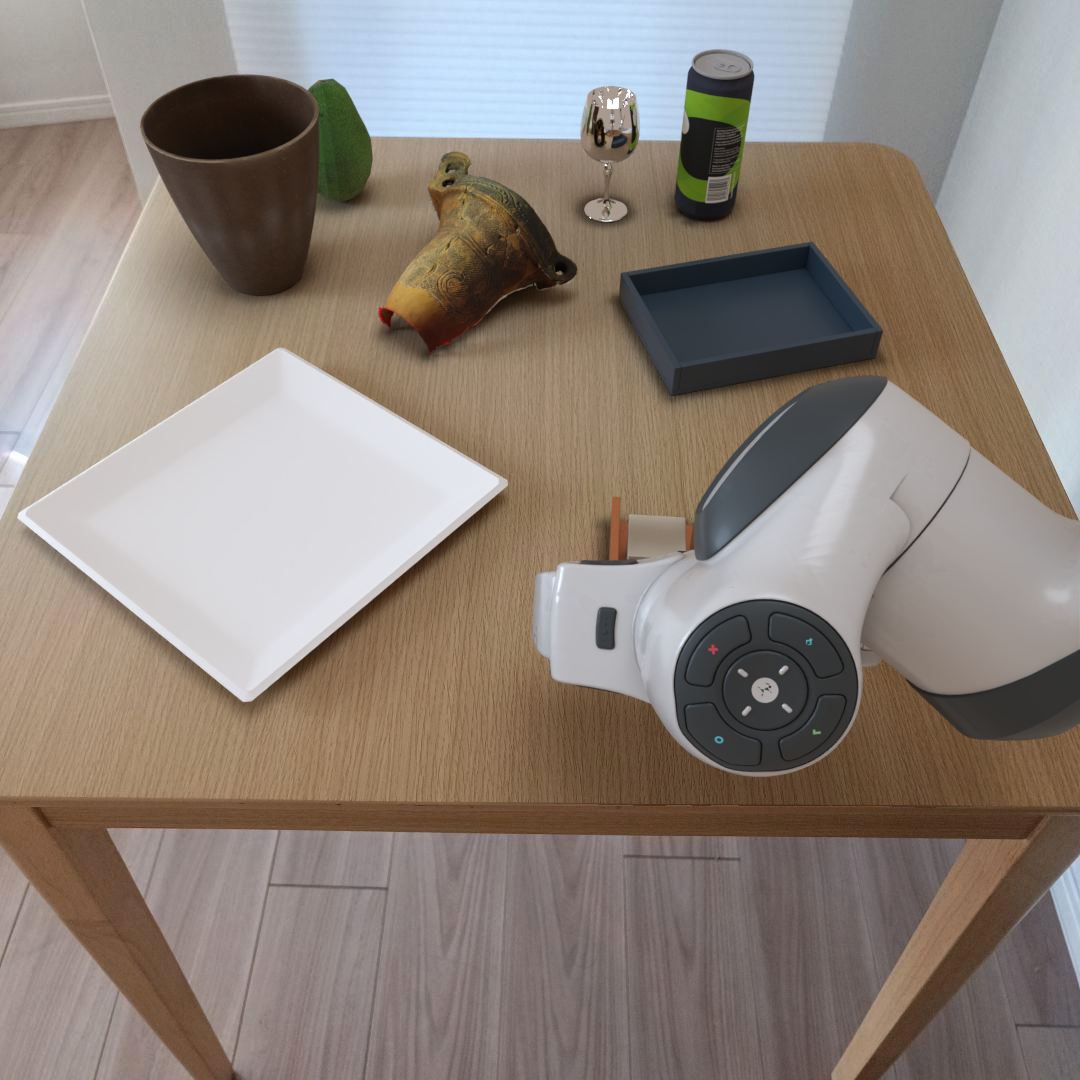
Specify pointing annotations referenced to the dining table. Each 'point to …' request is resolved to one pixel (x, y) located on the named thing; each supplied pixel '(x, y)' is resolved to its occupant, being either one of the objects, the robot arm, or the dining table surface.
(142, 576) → the plate
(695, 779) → the dining table surface
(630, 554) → the cream block
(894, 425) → the robot arm
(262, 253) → the plant pot
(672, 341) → the tray
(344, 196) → the fruit
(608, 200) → the wineglass
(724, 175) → the beverage can
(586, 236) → the dining table surface
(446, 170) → the pot
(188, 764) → the dining table surface
